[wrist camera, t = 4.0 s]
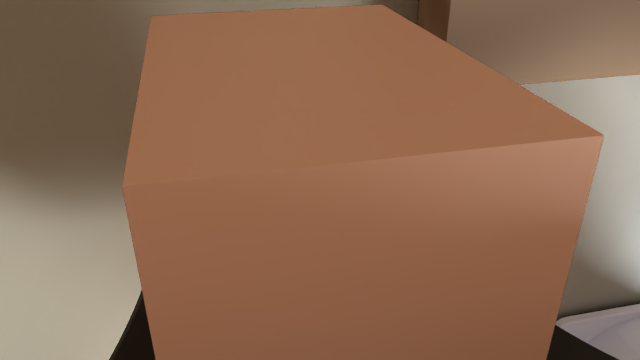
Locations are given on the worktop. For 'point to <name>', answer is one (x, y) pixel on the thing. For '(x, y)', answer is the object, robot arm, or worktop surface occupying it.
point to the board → (541, 36)
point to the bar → (346, 192)
